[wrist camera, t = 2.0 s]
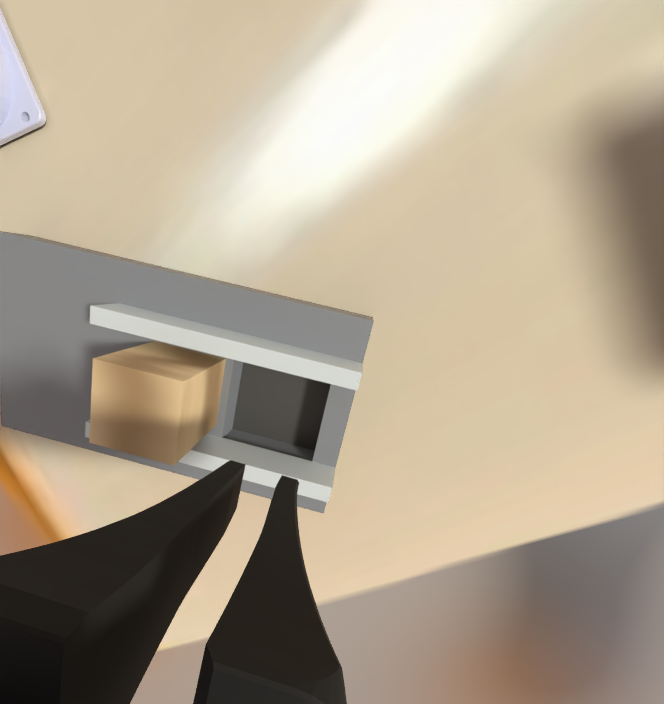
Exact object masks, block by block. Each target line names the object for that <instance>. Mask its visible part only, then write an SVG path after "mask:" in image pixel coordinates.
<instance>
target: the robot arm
mask: <svg viewBox="0 0 664 704" xmlns="http://www.w3.org/2000/svg"><path fill="white" fill-rule="evenodd" d="M29 117H30V119H29ZM28 119H29V120H28ZM45 122H46V115H45V112H44V110H43V107H42V105H41V103H40V100H39V98H38V96H37V93H36V91H35V89H34V86H33V84H32V82H31V79H30V77H29V75H28V72H27V70H26V67H25V65H24V63H23V60H22V58H21V56H20V53H19V51H18V49H17V46H16V44H15V42H14V39H13V37H12V35H11V32H10V30H9V28H8V25H7V23H6V21H5V18H4V16H3V13H2V11H1V9H0V146H1V145H3V144H5V143H7V142H9V141H11V140H13V139H15V138H17V137H20V136H22V135H24V134H26V133H28V132H30V131H32V130H34V129H36V128H38V127H41V126H42V125H44V124H45ZM245 465H246V464H243V463H239V462H236V461H232V460H230V461H228V462H226V463H225V464H223V465H222V466H220V467H219V468H217V469H216V470H214V471H213V472H211V473H210V474H208V475H207V476H205V477H204V478H202V479H200V480H199V481H197V482H195V483H194V484H192V485H191V486H189V487H187V488H186V489H184V490H182V491H180V492H179V493H177V494H175V495H173V496H171V497H169V498H168V499H166V500H164V501H162V502H160V503H158V504H156V505H154V506H152V507H150V508H148V509H146V510H144V511H142V512H139V513H137V514H135V515H133V516H130V517H128V518H125V519H123V520H120V521H117V522H115V523H112V524H109V525H107V526H104V527H102V528H99V529H96V530H93V531H90V532H87V533H84V534H81V535H78V536H75V537H71V538H68V539H65V540H61V541H58V542H54V543H51V544H47V545H43V546H39V547H35V548H31V549H27V550H23V551H19V552H15V553H10V554H6V555H2V556H0V704H130V702H131V700H132V698H133V696H134V694H135V692H136V690H137V688H138V686H139V684H140V682H141V680H142V678H143V676H144V674H145V672H146V670H147V668H148V666H149V664H150V662H151V660H152V658H153V656H154V654H155V652H156V650H157V648H158V646H159V644H160V643H161V641H162V639H163V637H164V635H165V633H166V631H167V629H168V627H169V625H170V623H171V621H172V619H173V617H174V616H175V614H176V612H177V610H178V608H179V606H180V605H181V603H182V601H183V599H184V598H185V596H186V594H187V593H188V591H189V589H190V588H191V586H192V585H193V583H194V581H195V580H196V578H197V577H198V575H199V573H200V572H201V570H202V569H203V567H204V565H205V564H206V562H207V561H208V559H209V557H210V556H211V554H212V553H213V551H214V549H215V548H216V546H217V545H218V543H219V541H220V540H221V538H222V536H223V535H224V533H225V531H226V529H227V527H228V525H229V523H230V521H231V519H232V516H233V514H234V512H235V510H236V507H237V503H238V498H239V493H240V489H241V484H242V479H243V475H244V470H245ZM298 486H299V482H298V480H297V479H293V478H290V477H287V476H283V475H282V476H281V478H280V479H279V481H278V483H277V485H276V487H275V491H274V494H273V497H272V501H271V504H270V507H269V511H268V514H267V517H266V521H265V524H264V527H263V530H262V533H261V535H260V538H259V540H258V542H257V544H256V546H255V549H254V551H253V553H252V555H251V557H250V559H249V561H248V564H247V566H246V568H245V570H244V572H243V574H242V576H241V578H240V580H239V582H238V584H237V586H236V588H235V590H234V592H233V594H232V596H231V598H230V600H229V602H228V604H227V606H226V608H225V610H224V612H223V614H222V615H221V617H220V619H219V621H218V623H217V625H216V627H215V629H214V631H213V632H212V634H211V636H210V638H209V640H208V641H207V643H206V646H205V651H204V656H203V660H202V665H201V670H200V675H199V679H198V684H197V688H196V694H195V698H194V703H193V704H347V702H346V695H345V686H344V679H343V673H342V667H341V665H340V663H339V661H338V658H337V656H336V654H335V652H334V650H333V647H332V645H331V643H330V641H329V638H328V636H327V634H326V631H325V628H324V626H323V623H322V621H321V618H320V615H319V612H318V609H317V606H316V603H315V600H314V597H313V594H312V591H311V588H310V584H309V581H308V577H307V573H306V569H305V565H304V560H303V555H302V550H301V544H300V537H299V529H298V518H297V492H298Z"/></svg>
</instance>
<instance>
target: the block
mask: <svg viewBox="0 0 664 704" xmlns="http://www.w3.org/2000/svg"><path fill="white" fill-rule="evenodd" d="M225 362H226V358H222V357H218V356H214V355H210V354H206V353H202V352H198V351H194V350H190V349H186V348H182V347H178V346H174V345H170V344H166V343H162V342H158V341H153V342H150V343H146V344H143V345H139V346H135V347H132V348H128V349H125V350H121V351H117V352H114V353H110V354H107V355H103V356H99V357H96V358H93V367H92V390H91V413H90V436H89V443H92V444H96V445H100V446H103V447H107V448H111V449H114V450H118V451H122V452H125V453H129V454H133V455H137V456H140V457H144V458H148V459H151V460H155V461H159V462H162V463H166V464H170V465H173V466H174V465H175V464H176V463H177V462H178V461H179V460H180V459H181V458H182V457H183V456H184V455H185V454H186V453H188V452H189V451H190V450H191V449H192V448H193V447H194V446H195V445H196V444H197V443H198V442H199V441H200V440H201V439H202V438H203V437H204V436H205V435H206V434H207V433H208V432H209V431H210V430H211V429H213V428H214V427H215V426H216V422H217V415H218V409H219V402H220V395H221V389H222V382H223V375H224V369H225Z"/></svg>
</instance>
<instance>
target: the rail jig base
mask: <svg viewBox="0 0 664 704" xmlns="http://www.w3.org/2000/svg"><path fill="white" fill-rule="evenodd" d="M372 325H373V317H369V316H365V315H361V314H357V313H353V312H348V311H344V310H340V309H336V308H332V307H327V306H323V305H319V304H315V303H311V302H306V301H302V300H298V299H294V298H290V297H286V296H281V295H277V294H273V293H269V292H265V291H260V290H256V289H252V288H248V287H244V286H240V285H235V284H231V283H227V282H223V281H219V280H214V279H210V278H206V277H202V276H198V275H193V274H189V273H185V272H181V271H177V270H173V269H168V268H164V267H160V266H156V265H152V264H147V263H143V262H139V261H135V260H131V259H127V258H122V257H118V256H114V255H110V254H106V253H101V252H97V251H93V250H89V249H85V248H80V247H76V246H72V245H68V244H64V243H60V242H55V241H51V240H47V239H43V238H39V237H34V236H30V235H23V234H16V233H9V232H2V231H0V398H1V426H4V427H8V428H12V429H15V430H19V431H23V432H26V433H30V434H34V435H37V436H41V437H45V438H48V439H52V440H56V441H60V442H63V443H67V444H71V445H74V446H78V447H82V448H85V449H89V450H93V451H96V452H100V453H104V454H107V455H111V456H115V457H118V458H122V459H126V460H129V461H133V462H137V463H140V464H144V465H148V466H151V467H155V468H159V469H162V470H166V471H170V472H173V473H177V474H181V475H184V476H188V477H192V478H195V479H199V480H200V479H202V478H204V477H205V476H207V475H208V474H210V473H211V472H213V471H214V470H216V469H217V468H219V467H220V466H222V465H223V464H225V463H226V462H228V461H230V460H232V461H236V462H239V463H243V464H246V465H245V470H244V475H243V479H242V484H241V489H240V491H243V492H247V493H251V494H254V495H258V496H262V497H265V498H269V499H272V497H273V494H274V491H275V487H276V485H277V483H278V481H279V479H280V478H281V476H282V475H283V476H287V477H290V478H293V479H297V480H298V482H299V486H298V492H297V506H298V507H302V508H306V509H309V510H313V511H317V512H320V513H324V509H325V505H326V502H329V498H330V494H331V490H332V486H333V479H334V473H335V467H336V463H337V459H338V455H339V452H340V448H341V444H342V440H343V436H344V432H345V429H346V425H347V421H348V417H349V413H350V409H351V405H352V402H353V398H354V394H355V390H356V391H358V387H359V384H360V380H361V376H362V364H363V359H364V356H365V352H366V348H367V344H368V340H369V336H370V333H371V329H372ZM153 341H158V342H162V343H166V344H170V345H174V346H178V347H182V348H186V349H190V350H194V351H198V352H202V353H206V354H210V355H214V356H218V357H222V358H226V362H225V369H224V375H223V382H222V389H221V395H220V402H219V409H218V415H217V422H216V426H215V427H214V428H213V429H211V430H210V431H209V432H208V433H207V434H206V435H205V436H204V437H203V438H202V439H201V440H200V441H199V442H198V443H197V444H196V445H195V446H194V447H193V448H192V449H191V450H190V451H189V452H188V453H186V454H185V455H184V456H183V457H182V458H181V459H180V460H179V461H178V462H177V463H176V464H175V465H174V466H173V465H170V464H166V463H162V462H159V461H155V460H151V459H148V458H144V457H140V456H137V455H133V454H129V453H125V452H122V451H118V450H114V449H111V448H107V447H103V446H100V445H96V444H92V443H89V436H90V413H91V390H92V367H93V358H96V357H99V356H103V355H107V354H110V353H114V352H117V351H121V350H125V349H128V348H132V347H135V346H139V345H143V344H146V343H150V342H153Z"/></svg>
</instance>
